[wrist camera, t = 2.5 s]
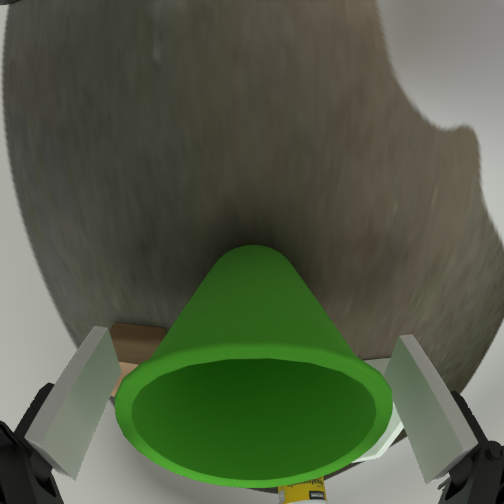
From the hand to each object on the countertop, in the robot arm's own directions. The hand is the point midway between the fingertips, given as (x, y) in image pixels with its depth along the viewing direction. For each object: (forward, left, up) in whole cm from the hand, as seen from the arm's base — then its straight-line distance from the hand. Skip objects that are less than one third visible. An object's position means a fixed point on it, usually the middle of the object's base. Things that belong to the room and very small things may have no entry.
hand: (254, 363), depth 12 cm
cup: (0, 0, -7) cm, 7 cm away
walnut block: (+6, -8, -7) cm, 12 cm away
